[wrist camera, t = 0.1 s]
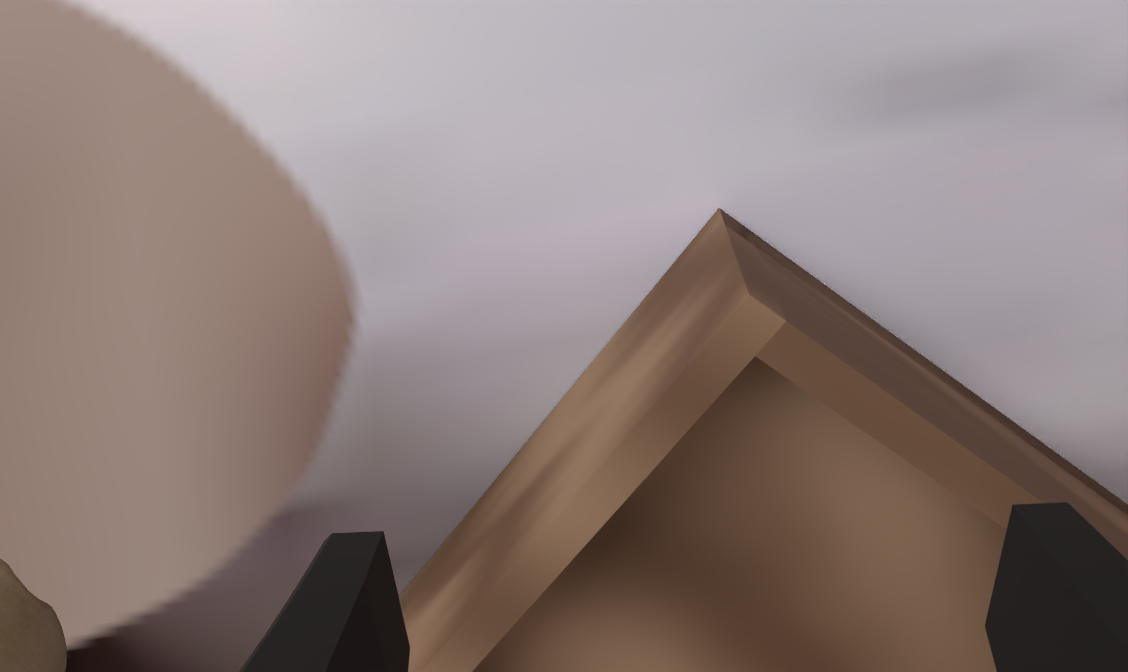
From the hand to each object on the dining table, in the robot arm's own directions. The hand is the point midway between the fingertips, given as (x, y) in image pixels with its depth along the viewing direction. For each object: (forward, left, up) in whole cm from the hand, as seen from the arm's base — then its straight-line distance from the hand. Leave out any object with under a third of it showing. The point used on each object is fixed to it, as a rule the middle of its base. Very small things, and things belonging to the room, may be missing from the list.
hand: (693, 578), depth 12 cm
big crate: (-6, -8, -11) cm, 15 cm away
